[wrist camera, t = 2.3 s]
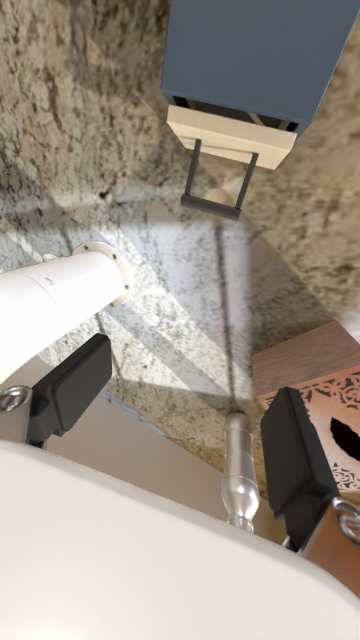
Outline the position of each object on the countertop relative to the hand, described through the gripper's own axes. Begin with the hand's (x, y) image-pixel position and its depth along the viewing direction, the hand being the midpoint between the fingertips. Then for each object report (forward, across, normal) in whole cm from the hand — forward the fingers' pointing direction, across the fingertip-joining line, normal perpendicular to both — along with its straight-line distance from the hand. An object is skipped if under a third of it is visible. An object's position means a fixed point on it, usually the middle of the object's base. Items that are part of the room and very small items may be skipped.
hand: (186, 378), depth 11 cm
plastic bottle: (+24, -12, +33) cm, 43 cm away
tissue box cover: (+24, -24, +18) cm, 39 cm away
